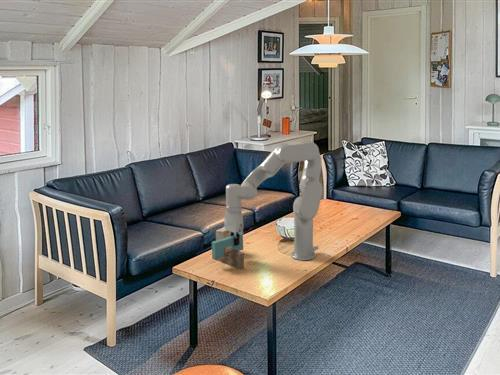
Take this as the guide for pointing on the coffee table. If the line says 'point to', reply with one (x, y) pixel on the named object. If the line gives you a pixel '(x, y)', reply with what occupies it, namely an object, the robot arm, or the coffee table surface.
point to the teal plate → (223, 243)
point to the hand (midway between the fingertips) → (234, 244)
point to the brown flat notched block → (233, 259)
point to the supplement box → (223, 234)
